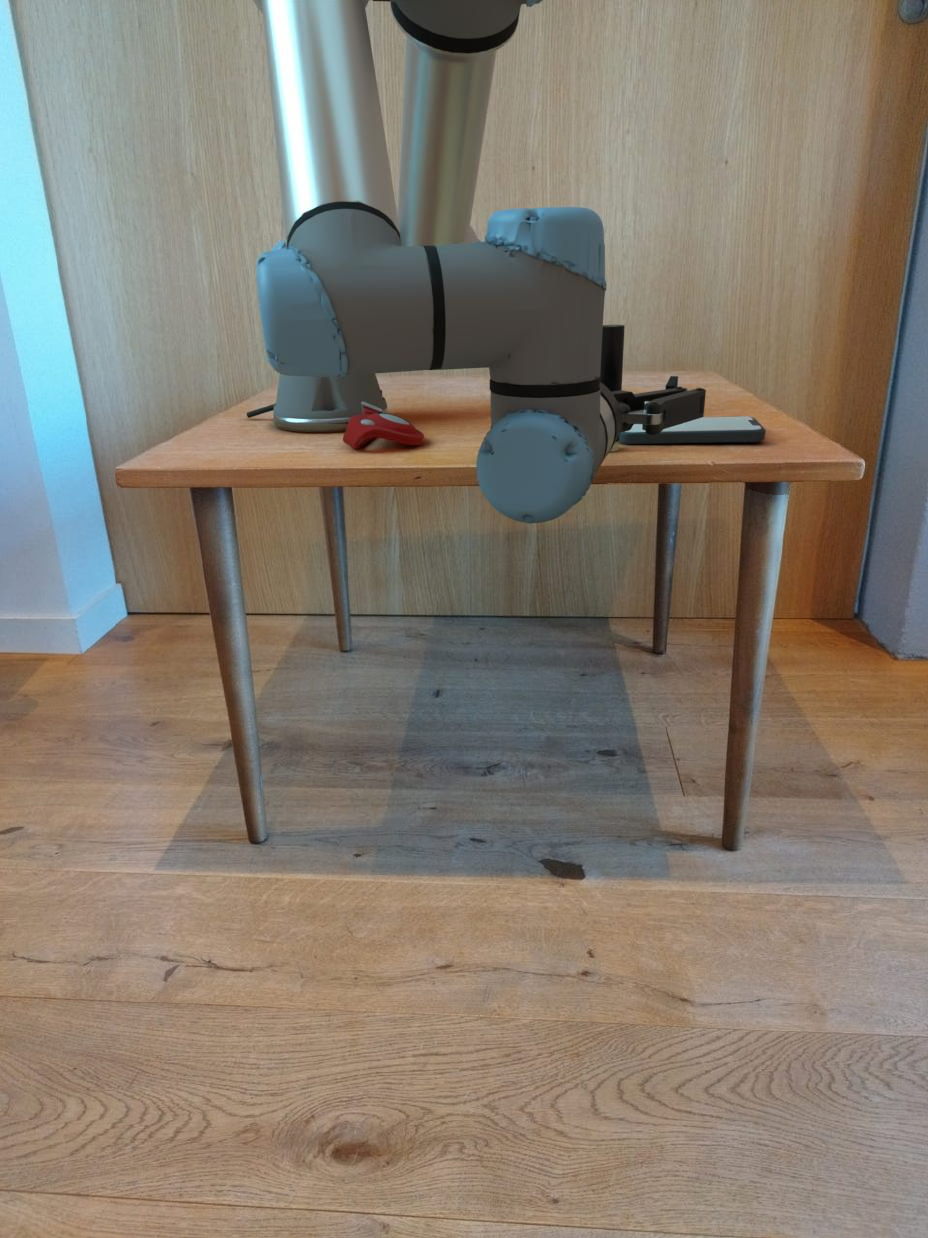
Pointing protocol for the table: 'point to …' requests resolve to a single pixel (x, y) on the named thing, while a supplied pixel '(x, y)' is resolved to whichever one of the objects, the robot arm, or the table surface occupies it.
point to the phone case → (700, 432)
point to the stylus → (612, 361)
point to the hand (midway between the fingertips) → (606, 388)
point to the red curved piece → (380, 428)
